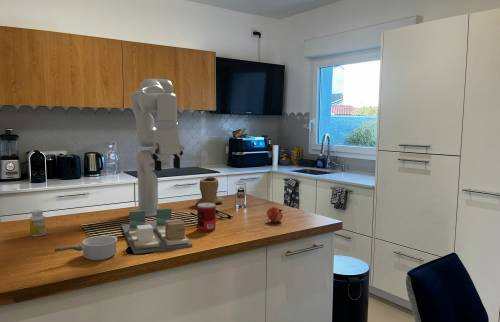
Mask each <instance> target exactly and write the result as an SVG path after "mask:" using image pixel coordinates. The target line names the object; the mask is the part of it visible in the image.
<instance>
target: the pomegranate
mask: <svg viewBox="0 0 500 322" xmlns="http://www.w3.org/2000/svg"><path fill="white" fill-rule="evenodd" d="M282 211H284V210H283V209H281V208H278V207H276V206H272V207H270V208H268V209H267V211H266V215H267V218H268V219H267V221H270V222H271V223H274V224H275V223H278V222H280V221H281V220H283V217H284V213H283V212H282Z"/></svg>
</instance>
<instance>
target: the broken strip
mask: <svg viewBox="0 0 500 322" xmlns="http://www.w3.org/2000/svg"><path fill="white" fill-rule="evenodd" d="M128 213H129V214H128V216H129V217H128V218H129V223H128V224H130V229H128V233H129V235H130V236H131V239H132V241H133V243H134V245H135V247H136V249H145V248H152V247H159V242H158V241H157V239H156V238H155V237H154V235H153V241H150V242H141V243H139V241H138V240H137V226H139V225H145V222H146V217H145V210H139V211H137V210H131V211H129V212H128ZM133 235H134V236H133Z"/></svg>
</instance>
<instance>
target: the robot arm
mask: <svg viewBox="0 0 500 322" xmlns="http://www.w3.org/2000/svg"><path fill="white" fill-rule="evenodd" d="M139 88H140V90H136V91H133V92H131V94H130V106H131V110H132V112H133V114H134V117H135V122H136V123H135V124H136V137H137V138H136V139H137V144H138V146H140V147H141V148H149V149H143V150H139V151H138V152H136V154H135V157H134V158H135V164H136V165H135V166H136V171H137V173H136V174H137V203H138V204H137V205H138V207H137V208H138V209H137V210H136V211H139V210H145V218H148V217H151V218H152V217H156V209H159V180H158V179H159V178H158V176H157V174H155V173H154V171H157V172H162V170H166V169H169V168H171V167H172V166H173V168H174V169H181V158H182V156H183V155H184V151H185V146H183V145H182V144H181V143H180V133H179V129H178V126H179V122H178V98H177V94H175V93H174V85H173V83H172V82H171V80H169V79H166V78H165V79H164V78H163V79H162V78H146V79H143V80H142V82H140V86H139ZM151 113H156V122H157V123H156V127H155V118H154V116H153V115H152V114H151Z"/></svg>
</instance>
